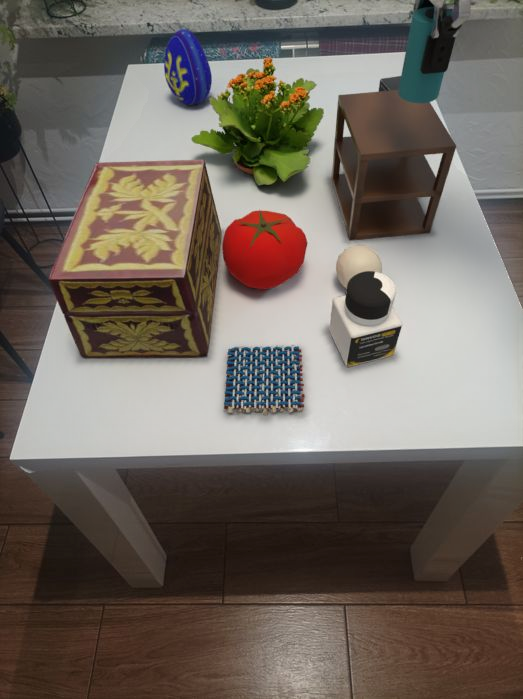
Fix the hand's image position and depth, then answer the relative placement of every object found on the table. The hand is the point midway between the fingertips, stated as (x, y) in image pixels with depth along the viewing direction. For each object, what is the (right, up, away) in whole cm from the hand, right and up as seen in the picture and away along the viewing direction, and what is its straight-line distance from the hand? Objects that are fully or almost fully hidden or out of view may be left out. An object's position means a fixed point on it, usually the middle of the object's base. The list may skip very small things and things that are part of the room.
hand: (426, 59), depth 59 cm
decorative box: (-37, -27, +17) cm, 49 cm away
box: (+7, +8, +41) cm, 42 cm away
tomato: (-20, -24, +18) cm, 36 cm away
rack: (+1, -10, +27) cm, 29 cm away
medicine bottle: (-6, -36, +9) cm, 37 cm away
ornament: (-37, +23, +54) cm, 69 cm away
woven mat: (-20, -41, +6) cm, 46 cm away
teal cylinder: (0, -2, +3) cm, 4 cm away
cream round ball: (-6, -26, +16) cm, 31 cm away
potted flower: (-22, +2, +38) cm, 44 cm away
